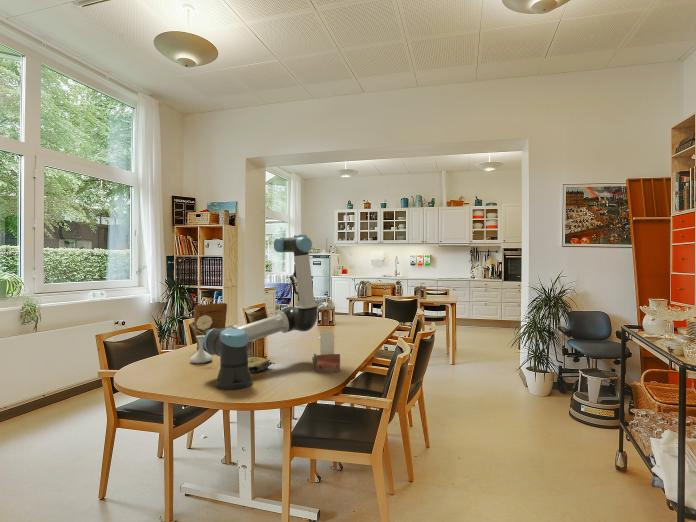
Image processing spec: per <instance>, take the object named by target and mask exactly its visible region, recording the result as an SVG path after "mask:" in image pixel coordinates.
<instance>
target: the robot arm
mask: <svg viewBox="0 0 696 522" xmlns="http://www.w3.org/2000/svg"><path fill="white" fill-rule="evenodd" d="M312 246H313V242H312V239H311V238H309V237H308V235H307V234H293V237H277V238H275V239H274V241H273V249H274V251H275V252H277V253H293V261H294V262H293V263H294V264H293V272H292V273H293V274H292V275H289V277H288V278H289V280H290V281H291V285H292V288H293V292H294V294H295V295H297V301H298V302H299V304H298V306H297V307H295V306H285V307H283V308H282V309H281V310H280V311H277V313H276V314H275V315H273V316H270V317H266V318H263V319H260V320H259V319H258V320H256V321H253V322H250V323H246V324H243V325H240V326H238V327H236V326H235V325H229V326H225V328H221V329H220V328H213V329H211V330H209V331H208V332H207V333H206V335H205V337H204V341H203V343H204V347H205V349H206V350H207V351H206V352H207V353H208V354H210V355H215V356H218V357H220V360H219V361H220V362H219V363H220V364H219V365H220V367H219V371H218V374H217V378H216V382H215V384H216V388H218V389H221V390H239V389H243V388H244V389H245V388H247V387H249V386H251V385H252V384H253V376H252V373H250V370H249V367H248V357H249V343H250V342H253V341H256V340H260V339H262V338H263V339H264V338H265V337H269V336H272V335H275V334H277V333H283V334H286V333H289V332H292V331H298V332H308V331H310V330H311V329H312V328H314V326H315V325H316V323H317V319H318V304H317V303H316V302H315V296H314V295H315V294H314V288H313V287H314V286H313V279H314V276H313V275H312V270H311V262H310V254H309V252H310V251H311V249H312ZM295 279H296V284H295ZM296 286H297V287H296Z"/></svg>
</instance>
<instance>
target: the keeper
mask: <svg viewBox="0 0 696 522" xmlns="http://www.w3.org/2000/svg"><path fill="white" fill-rule="evenodd" d="M319 336H320V338H319V341H320V344H319V345H320V354H319V355H329V354H335V333H334V332H333V330H328V331H327V330H325V331H320V332H319Z"/></svg>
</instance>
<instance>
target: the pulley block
mask: <svg viewBox="0 0 696 522" xmlns="http://www.w3.org/2000/svg"><path fill="white" fill-rule="evenodd" d="M272 364H274V365H275V364H276V363H275V362H272V361H271V359H266V358H264V357H258V356H257V357H254V356H248V367H249V370H250V373H251V374H254V373H255V374H256V373H258V372H259V371H263V370H266V369H268V367H270V366H271V365H272Z"/></svg>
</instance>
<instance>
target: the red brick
mask: <svg viewBox="0 0 696 522" xmlns="http://www.w3.org/2000/svg"><path fill="white" fill-rule="evenodd" d="M311 357H312V359H311V360H313V361H312V363H313V365H315V366H314V368H315V371H316V370H317V371H316V373H317V372H323V373H332V372H331V371H339V372H341V354H340V353H334V354H329V355H320V354H316V353H313V356H311Z"/></svg>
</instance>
